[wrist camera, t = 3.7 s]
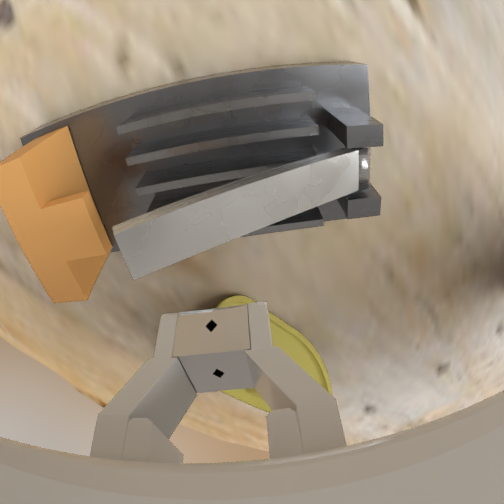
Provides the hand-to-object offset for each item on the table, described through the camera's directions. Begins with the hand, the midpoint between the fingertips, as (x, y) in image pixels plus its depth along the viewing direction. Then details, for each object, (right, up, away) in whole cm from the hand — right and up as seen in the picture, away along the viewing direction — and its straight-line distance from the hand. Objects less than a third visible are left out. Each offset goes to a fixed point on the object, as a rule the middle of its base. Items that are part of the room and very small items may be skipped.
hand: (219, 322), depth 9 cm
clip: (-11, +6, +11) cm, 17 cm away
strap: (+1, +5, +6) cm, 8 cm away
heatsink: (-3, +9, +13) cm, 17 cm away
